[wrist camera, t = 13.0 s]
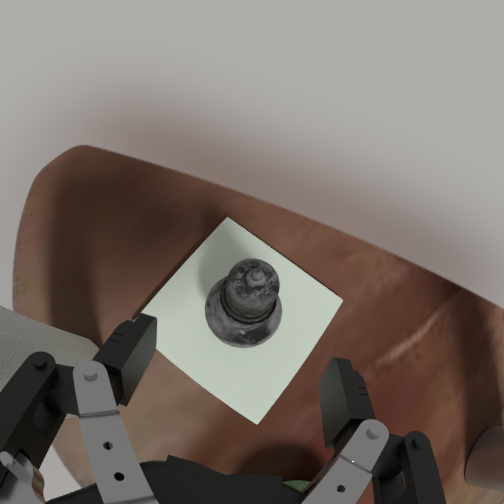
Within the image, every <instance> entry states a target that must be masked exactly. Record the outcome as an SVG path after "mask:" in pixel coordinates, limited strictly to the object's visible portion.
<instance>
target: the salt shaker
mask: <svg viewBox="0 0 504 504" xmlns="http://www.w3.org/2000/svg"><path fill="white" fill-rule="evenodd" d="M279 289H280V282H279V277H278V274H277V272H276V271H275V269H274V268H273V267H272V266H271V265H270V264H268V263H267V262H265V261H263V260H261V259H255V258H249V259H245V260H241V261H240V262H238V263H237V264H235V265H234V267H233V268H232V269H231V270H230V272H229V274H228V276H226V277H224V278H223V279H221V280H220V281H218V282H217V283H216V284H215V285H214V286H213V287H212V288H211V290H210V292H209V294H208V296H207V298H206V303H205V318H206V321H207V323H208V326H209V328H210V329H211V331H212V332H213V334H214V335H215V336H216V337H217V338H218V339H219V340H221V341H222V342H223V343H226V344H228V345H230V346H232V347H238V348H251V347H255V346H258V345H261V344H263V343H264V342H266V341H267V340H268V339H270V338H271V337H272V336H273V335H274V333H275V332H276V331H277V329H278V327H279V324H280V322H281V318H282V305H281V300H280V298H279V295H278V293H279Z"/></svg>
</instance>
